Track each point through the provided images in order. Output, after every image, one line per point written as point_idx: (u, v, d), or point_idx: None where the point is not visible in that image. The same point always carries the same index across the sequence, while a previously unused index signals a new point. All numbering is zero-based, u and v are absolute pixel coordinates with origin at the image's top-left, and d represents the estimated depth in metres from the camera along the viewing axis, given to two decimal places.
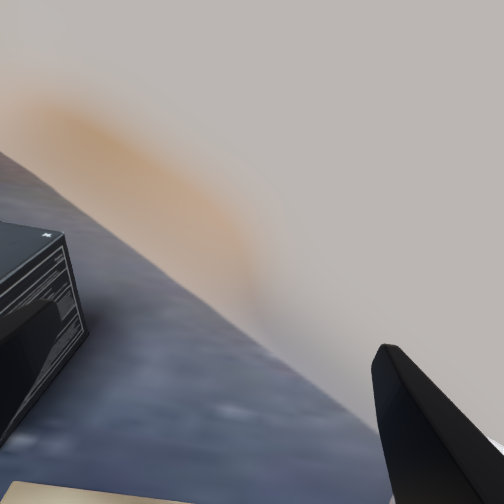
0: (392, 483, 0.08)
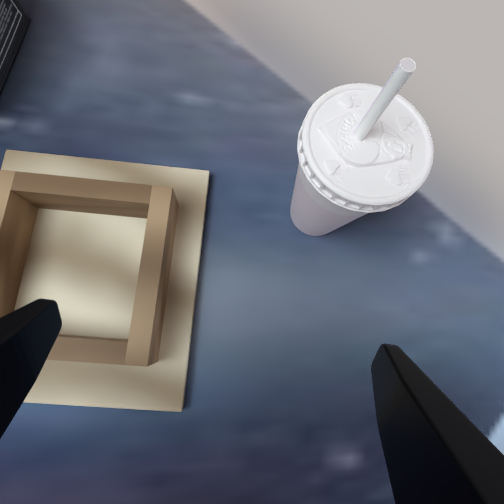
0: (392, 483, 0.08)
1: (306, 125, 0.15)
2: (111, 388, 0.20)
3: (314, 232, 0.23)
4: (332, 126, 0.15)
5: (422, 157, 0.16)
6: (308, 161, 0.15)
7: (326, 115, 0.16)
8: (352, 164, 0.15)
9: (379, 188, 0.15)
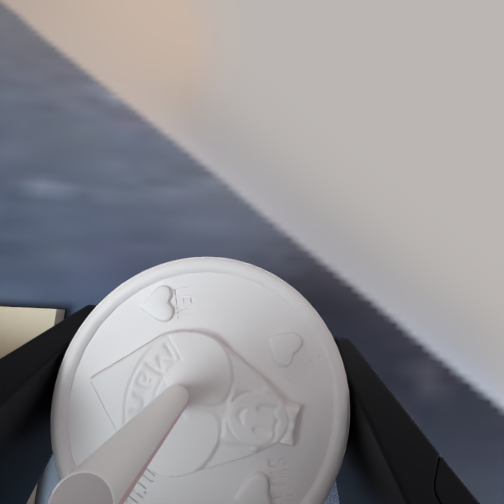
0: None
1: (61, 378, 0.07)
2: None
3: None
4: (115, 381, 0.07)
5: (323, 434, 0.07)
6: (58, 470, 0.07)
7: (113, 344, 0.07)
8: (162, 466, 0.07)
9: None
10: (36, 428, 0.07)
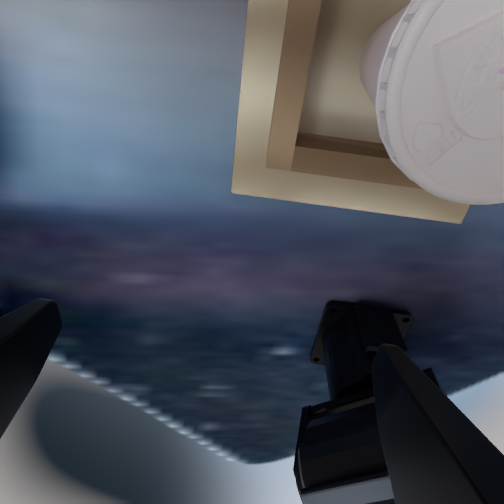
0: (392, 483, 0.08)
1: (408, 43, 0.08)
2: (396, 198, 0.20)
3: None
4: (462, 51, 0.07)
5: None
6: (387, 124, 0.09)
7: (462, 11, 0.07)
8: (468, 131, 0.09)
9: (493, 178, 0.09)
10: None
